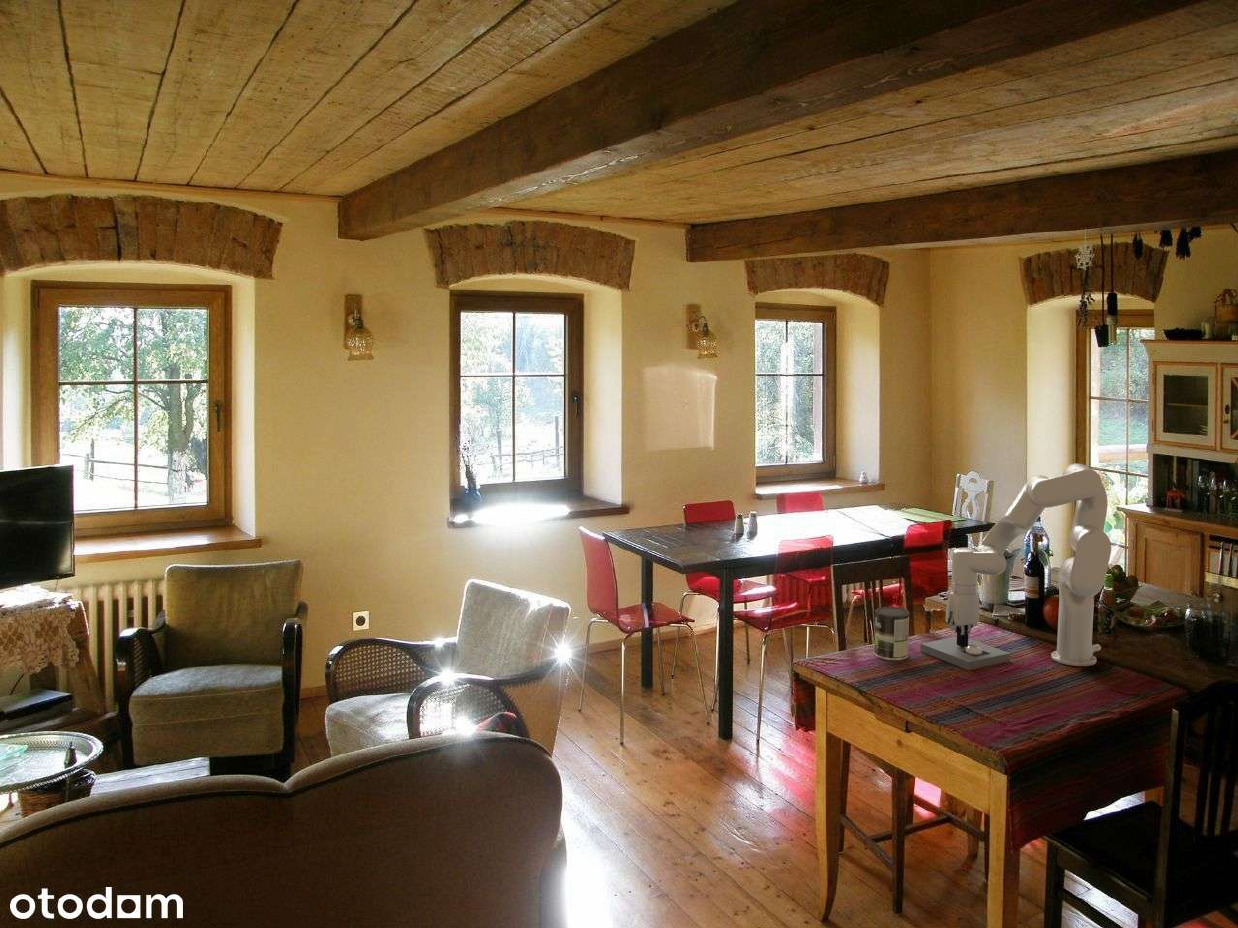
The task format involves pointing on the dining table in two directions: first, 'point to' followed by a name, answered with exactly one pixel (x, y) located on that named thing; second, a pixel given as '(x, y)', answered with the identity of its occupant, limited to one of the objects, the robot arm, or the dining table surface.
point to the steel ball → (974, 650)
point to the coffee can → (891, 633)
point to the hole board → (957, 655)
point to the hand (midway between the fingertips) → (962, 645)
